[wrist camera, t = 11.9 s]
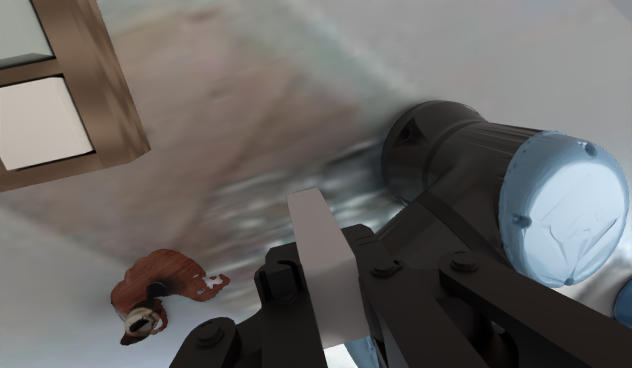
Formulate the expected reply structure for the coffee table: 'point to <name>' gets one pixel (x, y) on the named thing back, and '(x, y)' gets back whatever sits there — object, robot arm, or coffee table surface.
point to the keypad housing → (81, 93)
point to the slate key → (22, 35)
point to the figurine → (157, 291)
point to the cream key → (40, 123)
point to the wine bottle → (624, 306)
